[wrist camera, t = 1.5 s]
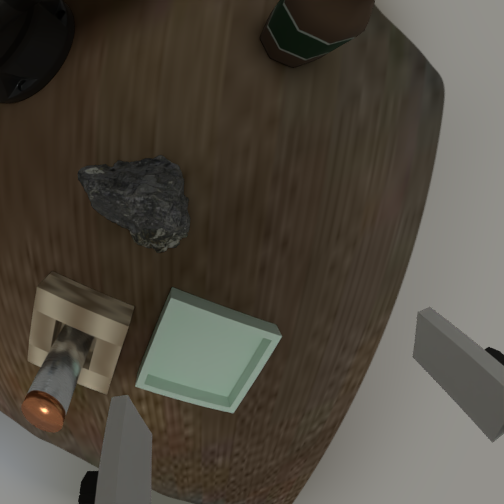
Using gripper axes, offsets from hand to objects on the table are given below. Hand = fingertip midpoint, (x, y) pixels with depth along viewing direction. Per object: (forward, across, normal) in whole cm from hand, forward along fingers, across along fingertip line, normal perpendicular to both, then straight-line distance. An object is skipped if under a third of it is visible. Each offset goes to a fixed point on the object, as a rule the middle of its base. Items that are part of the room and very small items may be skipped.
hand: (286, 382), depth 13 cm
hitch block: (+27, -22, -9) cm, 36 cm away
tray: (+27, -6, -17) cm, 32 cm away
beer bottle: (+27, +12, +21) cm, 37 cm away
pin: (+26, -22, -9) cm, 35 cm away
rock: (+27, -8, +5) cm, 29 cm away
